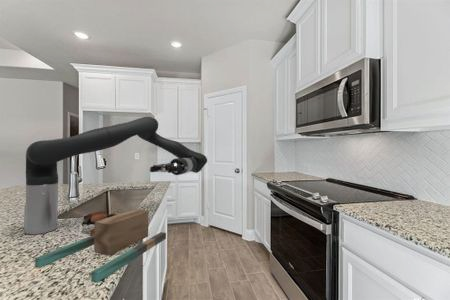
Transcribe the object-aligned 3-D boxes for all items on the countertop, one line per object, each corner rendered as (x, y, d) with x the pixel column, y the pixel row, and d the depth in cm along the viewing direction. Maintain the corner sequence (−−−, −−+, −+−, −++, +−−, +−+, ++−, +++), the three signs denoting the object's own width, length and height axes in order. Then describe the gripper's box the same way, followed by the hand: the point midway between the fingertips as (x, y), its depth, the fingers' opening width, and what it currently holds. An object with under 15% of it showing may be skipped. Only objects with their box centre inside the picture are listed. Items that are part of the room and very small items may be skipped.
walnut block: (94, 252, 65) (94, 221, 65) (134, 234, 80) (135, 209, 80) (109, 256, 63) (109, 224, 63) (148, 236, 78) (148, 211, 78)
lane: (35, 265, 57) (35, 258, 57) (117, 231, 82) (117, 225, 82) (97, 282, 50) (98, 273, 50) (165, 238, 76) (165, 232, 76)
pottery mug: (81, 239, 75) (77, 216, 78) (88, 242, 84) (85, 220, 86) (118, 226, 80) (114, 204, 83) (122, 230, 88) (118, 210, 91)
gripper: (168, 157, 106) (145, 160, 91) (194, 158, 101) (174, 160, 86) (168, 173, 106) (145, 178, 91) (195, 174, 101) (175, 180, 86)
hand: (159, 169), depth 88 cm, fingers open, 8 cm apart
